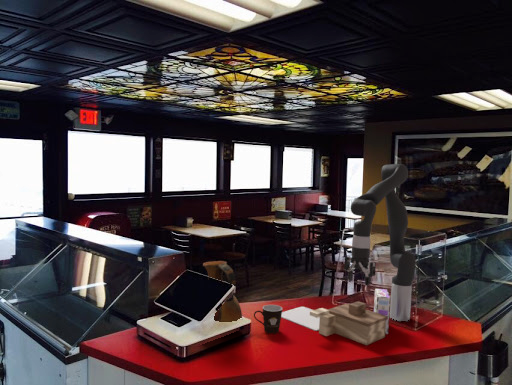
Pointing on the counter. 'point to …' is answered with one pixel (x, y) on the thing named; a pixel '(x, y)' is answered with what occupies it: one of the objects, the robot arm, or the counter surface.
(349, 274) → the robot arm
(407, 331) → the counter surface
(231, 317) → the ceramic pitcher
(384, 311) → the candy box
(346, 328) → the wooden box
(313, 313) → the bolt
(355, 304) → the lid
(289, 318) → the mat
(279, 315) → the coffee mug
